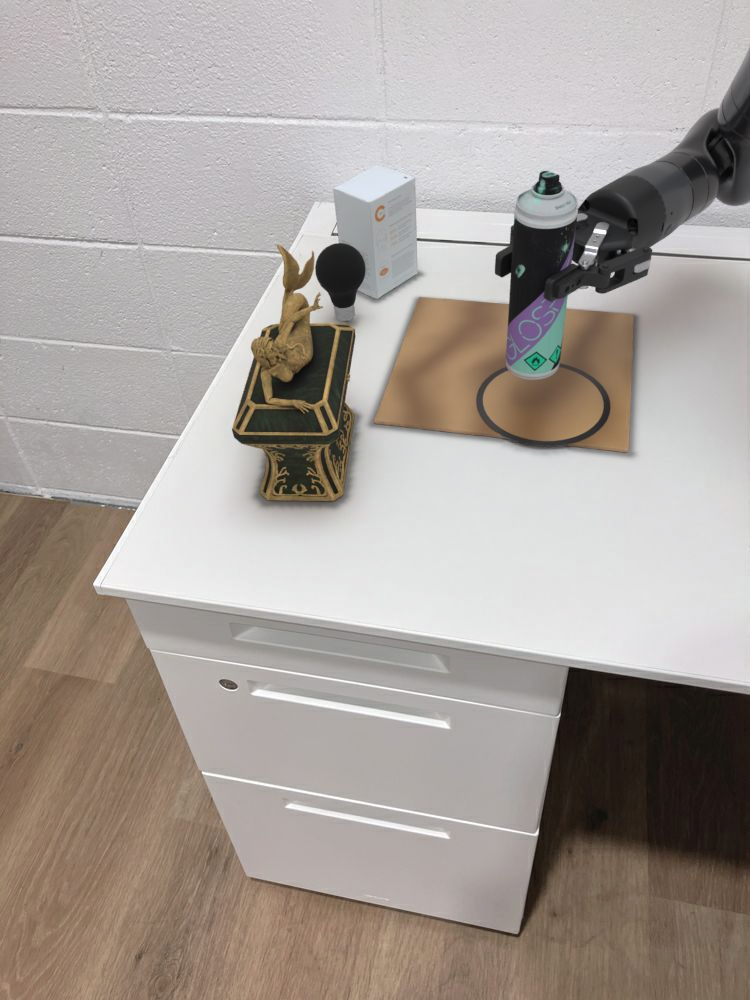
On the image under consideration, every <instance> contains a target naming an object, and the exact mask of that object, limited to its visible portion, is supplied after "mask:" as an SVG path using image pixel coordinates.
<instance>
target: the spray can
mask: <svg viewBox="0 0 750 1000" xmlns="http://www.w3.org/2000/svg"><path fill="white" fill-rule="evenodd" d="M578 203H579V202H578V198H577V196H576V195H575V194H574V193H572V192H571V191H569V190H566V189H565V186H564V185H563V184H562V182H561V181H560V174H558V173H555V172H552V171H549V170H543V171H540V173H539V174H538V181H537V182H535V184H533V185H532V186H531V188H530V189H528V190H527V189H526V190H525V191H523V192H521V193H520V194H519V195H518V196H517V198H516V201H515V207H514V211H513V212H514V214H513V225H514V229H513V246H512V263H511V273H510V280H509V281H510V282H509V297H508V298H509V299H508V304H509V314H508V331H507V348H506V366H507V368H508V370H509V371H510V372H511V373H512V374H514V375H515V376H517V377H520V378H523V379H529V380H538V379H544V378H547V377H549V376H551V375H553V374H554V373H555V372H556V371H557V370H558V368H559V363H560V356H561V348H562V339H563V331H564V323H565V314H566V309H567V305H568V297H569V295H568V296H566V297H564V298H561V299H556V300H555V301H553V302H550V301H548V300H546V299H545V298H544V292H545V283H546V281H547V279H548V278H549V277H551V276H552V275H554V274H556V273H557V272H559V271H561V270H563V269H564V268H566V267H567V266H569V265H571V264H572V263H573V261H572V256H573V248H574V239H575V231H576V223H577V214H578V208H579V207H578V205H579V204H578Z"/></svg>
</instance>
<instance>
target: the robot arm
mask: <svg viewBox="0 0 750 1000" xmlns="http://www.w3.org/2000/svg"><path fill="white" fill-rule="evenodd" d="M715 200H718V201H719V202H720V203H722V204H724V205H725V206H729V207H730V206H731V207H739V206H744V205H747V204H749V203H750V45H749V46H748V49H747V51H746V53H745V56H744V58H743V60H742V62H741V64H740V66H739V68H738V69H737V72H736V73H735V75H734V77H733V78H732V81H731V83H730V84H729V86H728V89H727V90H726V91H725V94H724V96H723V97H722V100H721V102H720V105H719V107H715V108H713V109H710V110H708V111H707V112H706V113H704V114H703V115H701V117H699V119H697V120H696V122H695V123H694V124H693V125H692V126H691V128H690V129H689V130H688V131H687V133H686V134H685V135H684V137H683V138H682V140H681V141H680V142H679V143H678V144H677V145H676V146H675V147H674V148H673V149H672V150H671V151H670V152H668V153H667V154H665V155H663V156H661V157H659V158H658V159H656V160H654V161H652V162H651V163H648V164H646V165H642V166H640V167H637V168H635V169H633V170H631V171H629V172H627V173H625V174H624V175H621V176H620V177H618V178H616V179H614V180H613V181H611V182H609V183H607V184H606V185H604V186H602V187H600V188H598V189H597V190H595V191H593V192H591V193H590V194H588V196H587V197H586V198H585V199H584V200H583V201H582V203H581V204H580V206H579V207H577V208H578V214H577V223H576V231H575V239H574V248H573V256H572V264H571V265H569V266H567V267H566V268H564V269H563V270H561V271H559V272H557V273H556V274H554V275H552V276H551V277H549V278H548V279H547V281H546V283H545V292H544V298H545V299H546V300H548V301H550V302H553V301H555V300H556V299H561V298H564V297H566V296H568V297H569V296H570V295H571V294H573V293H574V292H576V291H577V290H587V289H588V288H589V287H591V288H595V289H594V290H595V292H596V293H598V294H601V295H605V294H607V293H609V292H612V291H614V290H617V289H619V288H621V287H623V286H626V285H628V284H631V283H633V282H636V281H638V280H640V279H642V278H646V277H647V276H648V274H649V270H650V266H651V261H652V255H653V248H652V247H653V246H654V245H656V244H658V243H659V242H661V241H662V240H664V239H666V238H667V237H669V236H670V235H671V234H672V233H673V232H675V231H676V230H677V229H678V228H679V227H681V226H682V225H683V224H685V223H687V222H688V221H690V220H691V219H694V218H695V217H696V216H698V215H700V214H701V213H702V212H704V211H705V210H707V209H708V208H709V207H710V206H711V205H712V204H713V203H714V201H715ZM513 229H514V224H513V225H511V226H510V234H509V245H508V246H507V247H505V248H502V249H501V250H500V251H497V253H496V254H495V259H494V274H495V275H496V276H498V277H500V278H505V277H506V276H508V275H511V263H512V246H513ZM613 273H614V274H613ZM612 274H613V275H612Z"/></svg>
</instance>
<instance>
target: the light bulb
mask: <svg viewBox="0 0 750 1000" xmlns="http://www.w3.org/2000/svg"><path fill="white" fill-rule="evenodd" d="M314 270H315V271H314V272H315V276H316V280H317V282H318V284H319V285H320V287H322V289H323V290H324V291H326V292H327V294H328V296H329V298H330V301H331V304H332V306H333V309H334V310H333V311H334V317H335V318H336V319H337V320H338V321H340V322H343V323H348V322H349V321H351V320H352V319H354V318H355V316H356V309H355V303H356V299H357V293H358V288H359V287H360V285H361V284H362V282H363V280H364V277H365V271H366V268H365V262H364V259H363V257H362V255H361V254H360V252H359V251H358V250H357V249H355V248H354V247H353V246H351V245H348V244H344V243H339V242H337V243H332V244H330V245H328V246H326V247H324V249H322V251H321V252H320V253H319V255H318V256H317V258H316V261H315V265H314Z"/></svg>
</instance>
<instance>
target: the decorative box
mask: <svg viewBox="0 0 750 1000" xmlns="http://www.w3.org/2000/svg"><path fill="white" fill-rule="evenodd" d="M276 248H277V250H278V252H279V253H280V255H281V257H282V261H283V275H282V286H283V288H284V293H283V297H282V302H281V303H282V304H281V306H282V307H281V314H280V318H279V323H274V324H270V325H268V326H266V327H264V328H262V329H261V332H260V335H259V336H258V337H257V338H254V339H252V341H251V345H250V350H251V353H252V356H253V358H252V362H251V365H250V367H249V372H248V374H247V377H246V381H245V384H244V388H243V391H242V394H241V397H240V401H239V404H238V407H237V411H236V414H235V418H234V421H233V424H232V428H231V432H232V435H233V438H234V439H235V440H236V441H238V443H240V444H241V445H244V446H248V447H253V448H257V449H260V450H262V451H263V452H264V456H265V458H266V459H265V460H266V467H265V471H264V475H263V480H262V483H261V487H260V494H261V495H262V497H264V499H266V500H267V501H299V502H300V501H305V502H306V501H309V502H310V501H311V502H334V501H336V500H338V499H339V498H340V497H342V496H343V495H344V492H345V483H346V478H347V470H348V464H349V458H350V457H349V456H350V452H351V451H350V450H351V444H352V437H353V429H354V423H355V417H356V416H355V413H354V411H353V410H352V409H351V408H350V407H349V406H348V404H347V403H346V397H347V391H348V386H349V385H348V384H349V383H350V381H351V379H350V378H351V373H350V372H351V368H352V367H351V366H352V360H353V355H354V354H353V353H354V349H355V344H356V328H354V327H353V326H352V325H350V324H348V323H332V322H325V323H324V322H323V323H322V322H316V323H315V322H314V323H313V322H312V323H311V312H315V311H317V310H321V309H324V306H323V305H320V304H319V301H321V298H320V297H321V296H322V294H321V292H320V291H319V292H318V294H316V296H315V298H314V301H313V304H312V305H310V304H309V301H308V300H307V298H306V296H305V295H304V294H303V293H301V292H295V291H297V290H301V289H303V288H304V287H306V286H307V284H308V283H309V282H310V281H311V278H312V276H313V273H314V272H315V271H314V270H315V252H314V250H311V257H310V258H309V259H308V260H307V261H306V262H305V264H304V266H303V269H302V272H300V265H299V263H298V261H297V259H295V258H294V257H293V255H292V254H291V253H290V252H289V251H288V250H287V249H286V248H285V247H283V246H282V245H280V244H278V243H277V244H276Z"/></svg>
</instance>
